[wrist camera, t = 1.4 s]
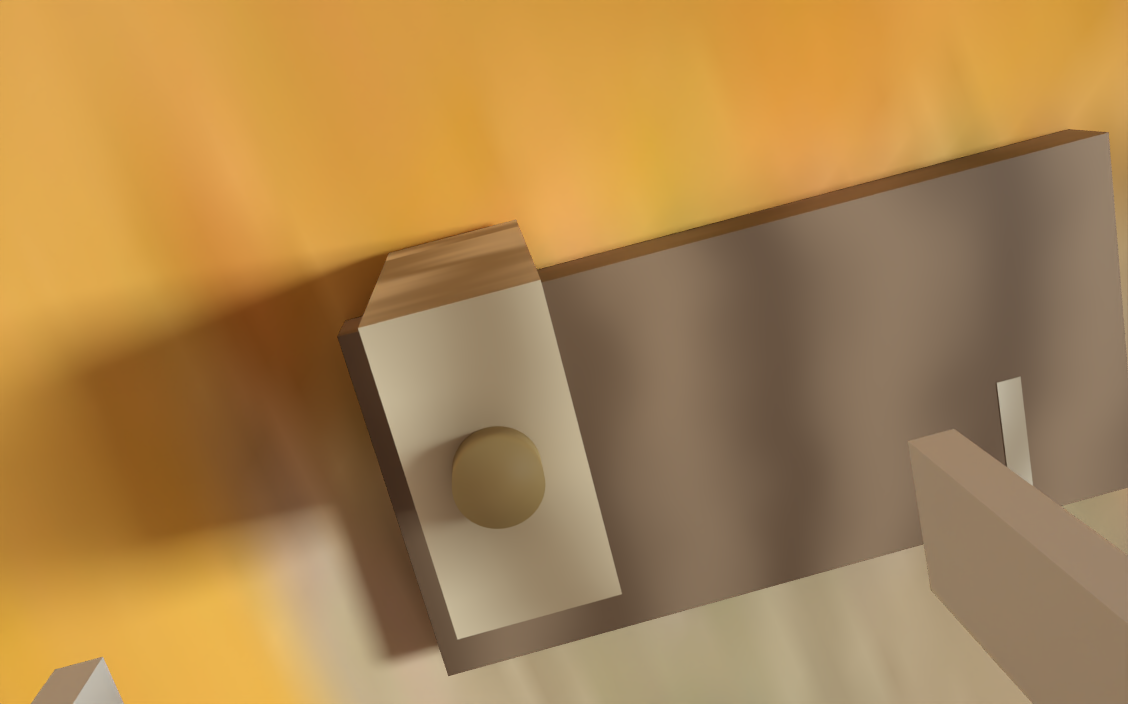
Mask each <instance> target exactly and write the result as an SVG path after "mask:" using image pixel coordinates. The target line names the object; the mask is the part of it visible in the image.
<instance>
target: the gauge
mask: <svg viewBox="0 0 1128 704" xmlns="http://www.w3.org/2000/svg"><path fill="white" fill-rule="evenodd" d="M358 330H359V333H360V336H361V339H362V342H363V345H364V349H365V352H366V355H367V358H368V361H369V364H370V367H371V370H372V374H373V377H374V380H375V383H376V386H377V389H378V392H379V396H380V399H381V402H382V405H383V408H384V411H385V414H386V417H387V421H388V424H389V427H390V430H391V433H392V436H393V439H394V442H395V446H396V449H397V452H398V455H399V458H400V461H401V464H402V467H403V471H404V474H405V477H406V480H407V483H408V486H409V489H410V492H411V496H412V499H413V502H414V505H415V508H416V511H417V514H418V517H419V521H420V524H421V527H422V530H423V533H424V536H425V539H426V542H427V546H428V549H429V552H430V555H431V558H432V561H433V564H434V567H435V571H436V574H437V577H438V580H439V583H440V586H441V589H442V592H443V596H444V599H445V602H446V605H447V608H448V611H449V614H450V617H451V621H452V624H453V627H454V630H455V633H456V636H457V639H461V638H465V637H469V636H472V635H476V634H480V633H483V632H487V631H490V630H494V629H498V628H501V627H505V626H509V625H512V624H516V623H519V622H523V621H527V620H530V619H534V618H537V617H541V616H545V615H548V614H552V613H556V612H559V611H563V610H566V609H570V608H574V607H577V606H581V605H585V604H588V603H592V602H595V601H599V600H603V599H606V598H610V597H613V596H617V595H621V594H622V592H621V588H620V584H619V580H618V576H617V573H616V569H615V565H614V561H613V557H612V553H611V549H610V546H609V542H608V538H607V534H606V530H605V526H604V522H603V519H602V515H601V511H600V507H599V503H598V499H597V495H596V492H595V488H594V484H593V480H592V476H591V472H590V468H589V464H588V461H587V457H586V453H585V449H584V445H583V441H582V437H581V434H580V430H579V426H578V422H577V418H576V414H575V410H574V407H573V403H572V399H571V395H570V391H569V387H568V383H567V380H566V376H565V372H564V368H563V364H562V360H561V356H560V352H559V349H558V345H557V341H556V337H555V333H554V329H553V325H552V322H551V318H550V314H549V310H548V306H547V302H546V298H545V295H544V291H543V287H542V283H541V279H540V277H539V274H538V272H537V270H536V267H535V265H534V262H533V260H532V257H531V255H530V252H529V250H528V248H527V245H526V243H525V240H524V238H523V235H522V233H521V230H520V228H519V226H518V223H517V221H516V220H513V221H509V222H505V223H501V224H498V225H494V226H490V227H486V228H482V229H479V230H475V231H471V232H467V233H463V234H459V235H456V236H452V237H448V238H444V239H440V240H437V241H433V242H429V243H425V244H421V245H418V246H414V247H410V248H406V249H402V250H399V251H395V252H391V253H389V254H388V256H387V259H386V261H385V264H384V266H383V269H382V271H381V273H380V276H379V278H378V281H377V283H376V286H375V288H374V290H373V293H372V295H371V298H370V300H369V303H368V305H367V307H366V310H365V312H364V315H363V317H362V320H361V322H360V324H359V327H358Z"/></svg>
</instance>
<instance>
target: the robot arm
mask: <svg viewBox="0 0 1128 704" xmlns="http://www.w3.org/2000/svg"><path fill="white" fill-rule="evenodd" d="M908 445H909V451H910V458H911V464H912V471H913V477H914V484H915V490H916V497H917V503H918V510H919V516H920V523H921V529H922V536H923V543H924V549H925V556H926V562H927V569H928V575H929V582H930V588H931V591H932V592H933V593H934V594H935V595H936V596H937V597H938V599H939V600H940V601H941V602H942V603H943V604H944V605H945V606H946V607H947V609H948V610H949V611H950V612H951V613H952V614H953V615H954V616H955V617H956V619H957V620H958V621H959V622H960V623H961V624H962V625H963V626H964V627H965V629H966V630H967V631H968V632H969V633H970V634H971V635H972V636H973V637H974V639H975V640H976V641H977V642H978V643H979V644H980V645H981V646H982V648H983V649H984V650H985V651H986V652H987V653H988V654H989V655H990V656H991V658H992V659H993V660H994V661H995V662H996V663H997V664H998V665H999V666H1000V668H1001V669H1002V670H1003V671H1004V672H1005V673H1006V674H1007V675H1008V676H1009V678H1010V679H1011V680H1012V681H1013V682H1014V683H1015V684H1016V685H1017V686H1018V688H1019V689H1020V690H1021V691H1022V692H1023V693H1024V694H1025V695H1026V697H1027V698H1028V699H1029V700H1030V701H1031V702H1032V703H1033V704H1128V555H1127V554H1126V553H1124V552H1123V551H1122V550H1120V549H1119V548H1118V547H1116V546H1115V545H1113V544H1112V543H1111V542H1109V541H1108V540H1107V539H1105V538H1104V537H1102V536H1101V535H1100V534H1098V533H1097V532H1096V531H1094V530H1093V529H1091V528H1090V527H1089V526H1087V525H1086V524H1084V523H1083V522H1082V521H1080V520H1079V519H1078V518H1076V517H1075V516H1073V515H1072V514H1071V513H1069V512H1068V511H1067V510H1065V509H1064V508H1062V507H1061V506H1060V505H1058V504H1057V503H1056V502H1054V501H1053V500H1051V499H1050V498H1049V497H1047V496H1046V495H1045V494H1043V493H1042V492H1040V491H1039V490H1038V489H1036V488H1035V487H1034V486H1032V485H1031V484H1029V483H1028V482H1027V481H1025V480H1024V479H1023V478H1021V477H1020V476H1018V475H1017V474H1016V473H1014V472H1013V471H1011V470H1010V469H1009V468H1007V467H1006V466H1005V465H1003V464H1002V463H1000V462H999V461H998V460H996V459H995V458H994V457H992V456H991V455H989V454H988V453H987V452H985V451H984V450H983V449H981V448H980V447H978V446H977V445H976V444H974V443H973V442H972V441H970V440H969V439H967V438H966V437H965V436H963V435H962V434H961V433H959V432H958V431H956V430H955V429H951V430H948V431H944V432H940V433H936V434H933V435H929V436H925V437H922V438H918V439H914V440H910V441H908ZM31 704H124V703H123V701H122V699H121V696H120V694H119V692H118V690H117V687H116V685H115V683H114V681H113V679H112V676H111V674H110V672H109V670H108V667H107V665H106V663H105V661H104V658H103V657H100V658H97V659H93V660H89V661H85V662H82V663H78V664H74V665H70V666H67V667H63V668H59V669H55V670H54V672H53V673H52V675H51V676H50V677H49V679H48V680H47V682H46V683H45V685H44V686H43V687H42V689H41V690H40V692H39V693H38V694H37V696H36V697H35V699H34V700H33V702H32V703H31Z"/></svg>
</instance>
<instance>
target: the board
mask: <svg viewBox="0 0 1128 704" xmlns="http://www.w3.org/2000/svg"><path fill="white" fill-rule="evenodd" d="M537 272H538V274H539V277H540V279H541V283H542V287H543V291H544V295H545V298H546V302H547V306H548V310H549V314H550V318H551V322H552V325H553V329H554V333H555V337H556V341H557V345H558V349H559V352H560V356H561V360H562V364H563V368H564V372H565V376H566V380H567V383H568V387H569V391H570V395H571V399H572V403H573V407H574V410H575V414H576V418H577V422H578V426H579V430H580V434H581V437H582V441H583V445H584V449H585V453H586V457H587V461H588V464H589V468H590V472H591V476H592V480H593V484H594V488H595V492H596V495H597V499H598V503H599V507H600V511H601V515H602V519H603V522H604V526H605V530H606V534H607V538H608V542H609V546H610V549H611V553H612V557H613V561H614V565H615V569H616V573H617V576H618V580H619V584H620V588H621V592H622V594H621V595H617V596H613V597H610V598H606V599H603V600H599V601H595V602H592V603H588V604H585V605H581V606H577V607H574V608H570V609H566V610H563V611H559V612H556V613H552V614H548V615H545V616H541V617H537V618H534V619H530V620H527V621H523V622H519V623H516V624H512V625H509V626H505V627H501V628H498V629H494V630H490V631H487V632H483V633H480V634H476V635H472V636H469V637H465V638H461V639H457V636H456V633H455V630H454V627H453V624H452V621H451V617H450V614H449V611H448V608H447V605H446V602H445V599H444V596H443V592H442V589H441V586H440V583H439V580H438V577H437V574H436V571H435V567H434V564H433V561H432V558H431V555H430V552H429V549H428V546H427V542H426V539H425V536H424V533H423V530H422V527H421V524H420V521H419V517H418V514H417V511H416V508H415V505H414V502H413V499H412V496H411V492H410V489H409V486H408V483H407V480H406V477H405V474H404V471H403V467H402V464H401V461H400V458H399V455H398V452H397V449H396V446H395V442H394V439H393V436H392V433H391V430H390V427H389V424H388V421H387V417H386V414H385V411H384V408H383V405H382V402H381V399H380V396H379V392H378V389H377V386H376V383H375V380H374V377H373V374H372V370H371V367H370V364H369V361H368V358H367V355H366V352H365V349H364V345H363V342H362V339H361V336H360V333H359V330H358V327H359V324H360V322H361V320H362V317H363V316H361V317H358V318H354V319H350V320H346V321H345V322H344V324H343V326H342V328H341V330H340V332H339V335H338V340H339V343H340V346H341V349H342V352H343V355H344V358H345V361H346V365H347V368H348V371H349V374H350V377H351V380H352V383H353V386H354V389H355V392H356V395H357V398H358V401H359V404H360V407H361V410H362V413H363V416H364V420H365V423H366V426H367V429H368V432H369V435H370V438H371V441H372V444H373V447H374V450H375V453H376V456H377V459H378V462H379V465H380V468H381V472H382V475H383V478H384V481H385V484H386V487H387V490H388V493H389V496H390V499H391V502H392V505H393V508H394V511H395V514H396V517H397V520H398V523H399V527H400V530H401V533H402V536H403V539H404V542H405V545H406V548H407V551H408V554H409V557H410V560H411V563H412V566H413V569H414V572H415V575H416V578H417V582H418V585H419V588H420V591H421V594H422V597H423V600H424V603H425V606H426V609H427V612H428V615H429V618H430V621H431V624H432V627H433V630H434V634H435V637H436V640H437V643H438V646H439V649H440V652H441V655H442V658H443V661H444V664H445V667H446V670H447V673H448V676H450V675H454V674H458V673H461V672H465V671H468V670H472V669H476V668H479V667H483V666H486V665H490V664H494V663H497V662H501V661H504V660H508V659H512V658H515V657H519V656H523V655H526V654H530V653H533V652H537V651H541V650H544V649H548V648H551V647H555V646H559V645H562V644H566V643H569V642H573V641H577V640H580V639H584V638H587V637H591V636H595V635H598V634H602V633H605V632H609V631H613V630H616V629H620V628H623V627H627V626H631V625H634V624H638V623H641V622H645V621H649V620H652V619H656V618H659V617H663V616H667V615H670V614H674V613H677V612H681V611H685V610H688V609H692V608H695V607H699V606H703V605H706V604H710V603H713V602H717V601H721V600H724V599H728V598H732V597H735V596H739V595H742V594H746V593H750V592H753V591H757V590H760V589H764V588H768V587H771V586H775V585H778V584H782V583H786V582H789V581H793V580H796V579H800V578H804V577H807V576H811V575H814V574H818V573H822V572H825V571H829V570H832V569H836V568H840V567H843V566H847V565H850V564H854V563H858V562H861V561H865V560H868V559H872V558H876V557H879V556H883V555H886V554H890V553H894V552H897V551H901V550H904V549H908V548H912V547H915V546H919V545H923V544H924V543H923V536H922V529H921V523H920V516H919V510H918V503H917V497H916V490H915V484H914V477H913V471H912V464H911V458H910V451H909V445H908V441H910V440H914V439H918V438H922V437H925V436H929V435H933V434H936V433H940V432H944V431H948V430H951V429H955V430H956V431H958V432H959V433H961V434H962V435H963V436H965V437H966V438H967V439H969V440H970V441H972V442H973V443H974V444H976V445H977V446H978V447H980V448H981V449H983V450H984V451H985V452H987V453H988V454H989V455H991V456H992V457H994V458H995V459H996V460H998V461H999V462H1000V463H1002V464H1003V465H1005V466H1006V467H1007V468H1009V469H1010V470H1011V471H1013V472H1014V473H1016V474H1017V475H1018V476H1020V477H1021V478H1023V479H1024V480H1025V481H1027V482H1028V483H1029V484H1031V485H1032V486H1034V487H1035V488H1036V489H1038V490H1039V491H1040V492H1042V493H1043V494H1045V495H1046V496H1047V497H1049V498H1050V499H1051V500H1053V501H1054V502H1056V503H1057V504H1058V505H1060V506H1063V505H1067V504H1070V503H1074V502H1077V501H1081V500H1085V499H1088V498H1092V497H1095V496H1099V495H1103V494H1106V493H1110V492H1113V491H1117V490H1121V489H1124V488H1128V368H1127V356H1126V343H1125V331H1124V318H1123V306H1122V294H1121V281H1120V269H1119V256H1118V244H1117V232H1116V219H1115V207H1114V194H1113V182H1112V170H1111V157H1110V145H1109V132H1096V131H1084V130H1071V129H1068V130H1064V131H1061V132H1057V133H1053V134H1049V135H1046V136H1042V137H1038V138H1034V139H1030V140H1027V141H1023V142H1019V143H1015V144H1011V145H1008V146H1004V147H1000V148H996V149H993V150H989V151H985V152H981V153H977V154H974V155H970V156H966V157H962V158H959V159H955V160H951V161H947V162H943V163H940V164H936V165H932V166H928V167H925V168H921V169H917V170H913V171H909V172H906V173H902V174H898V175H894V176H891V177H887V178H883V179H879V180H875V181H872V182H868V183H864V184H860V185H857V186H853V187H849V188H845V189H841V190H838V191H834V192H830V193H826V194H823V195H819V196H815V197H811V198H807V199H804V200H800V201H796V202H792V203H788V204H785V205H781V206H777V207H773V208H770V209H766V210H762V211H758V212H754V213H751V214H747V215H743V216H739V217H736V218H732V219H728V220H724V221H720V222H717V223H713V224H709V225H705V226H702V227H698V228H694V229H690V230H686V231H683V232H679V233H675V234H671V235H668V236H664V237H660V238H656V239H652V240H649V241H645V242H641V243H637V244H634V245H630V246H626V247H622V248H618V249H615V250H611V251H607V252H603V253H599V254H596V255H592V256H588V257H584V258H581V259H577V260H573V261H569V262H565V263H562V264H558V265H554V266H550V267H547V268H543V269H539V270H537Z"/></svg>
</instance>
